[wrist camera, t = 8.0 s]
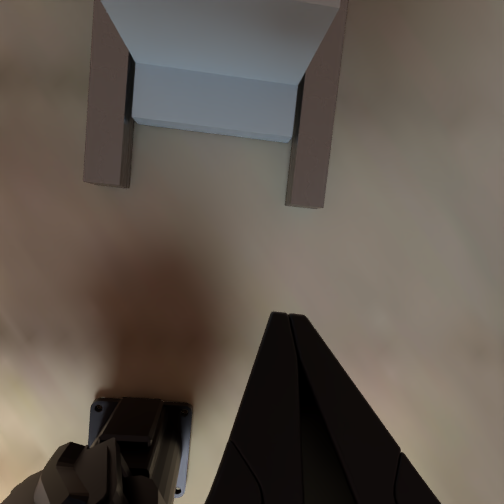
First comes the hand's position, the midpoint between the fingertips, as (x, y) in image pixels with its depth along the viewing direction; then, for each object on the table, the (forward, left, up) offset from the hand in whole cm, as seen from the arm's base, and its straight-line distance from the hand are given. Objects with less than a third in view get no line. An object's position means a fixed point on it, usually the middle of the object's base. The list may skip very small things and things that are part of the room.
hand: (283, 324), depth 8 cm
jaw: (+10, +3, -14) cm, 18 cm away
